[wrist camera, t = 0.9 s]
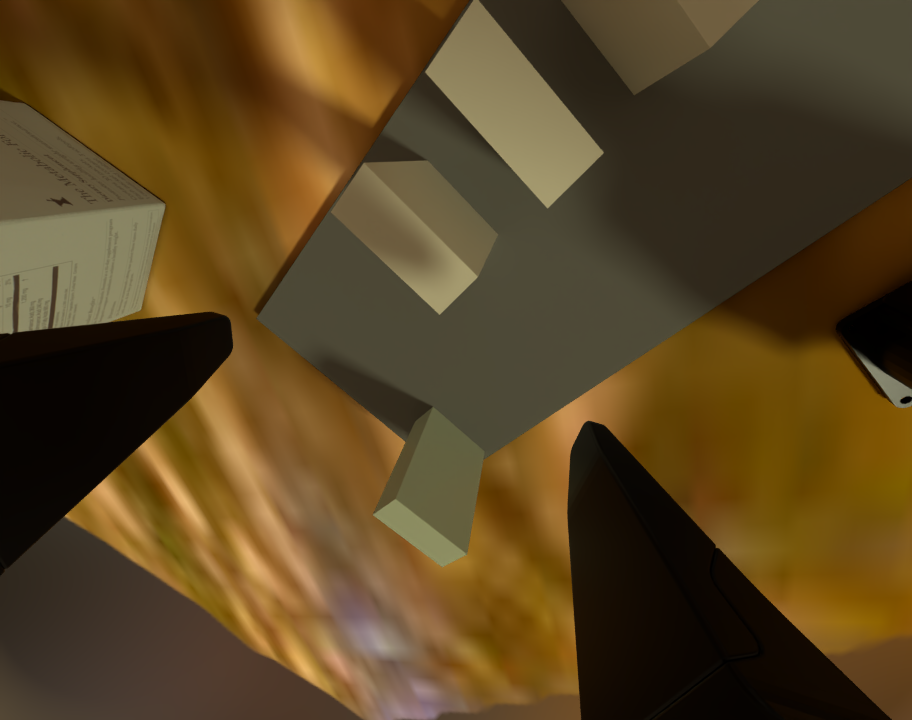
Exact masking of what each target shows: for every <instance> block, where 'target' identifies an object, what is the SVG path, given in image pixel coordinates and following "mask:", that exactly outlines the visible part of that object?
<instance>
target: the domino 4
mask: <svg viewBox="0 0 912 720" xmlns="http://www.w3.org/2000/svg"><path fill="white" fill-rule="evenodd" d="M561 1H562V2H563V4H564V5H565V6H566V7H567V9H568V10H569V11H570V13H571V14H572V15H573V17H574V18H575V19H576V20H577V22H578V23H579V24H580V26H581V27H582V28H583V30H584V31H585V32H586V33H587V35H588V36H589V37H590V39H591V40H592V41H593V43H594V44H595V45H596V46H597V48H598V49H599V50H600V52H601V53H602V54H603V56H604V57H605V58H606V59H607V61H608V62H609V63H610V65H611V66H612V67H613V69H614V70H615V71H616V72H617V74H618V75H619V76H620V78H621V79H622V80H623V82H624V83H625V84H626V85H627V87H628V88H629V89H630V91H631V92H632V93H633V95H635V94H637V93H639V92H640V91H642V90H643V89H645V88H647V87H648V86H650V85H652V84H653V83H655V82H656V81H658V80H660V79H661V78H663V77H664V76H666V75H668V74H669V73H671V72H673V71H674V70H676V69H677V68H679V67H681V66H682V65H684V64H685V63H687V62H689V61H690V60H692V59H694V58H695V57H697V56H698V55H700V54H702V53H703V52H705V51H706V50H708V49H710V48H711V47H712V46H713V45H714V44H715V43H716V42H717V41H718V40H719V39H720V38H721V37H722V36H723V35H724V34H725V33H726V32H727V31H728V30H729V29H730V28H731V27H732V26H733V25H734V24H735V23H736V22H737V21H738V20H739V19H740V18H741V17H742V16H743V15H744V14H745V13H746V12H747V11H748V10H749V9H750V8H751V7H752V6H753V5H755V4H756V3H757V2H758V1H759V0H561Z"/></svg>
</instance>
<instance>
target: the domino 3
mask: <svg viewBox="0 0 912 720" xmlns="http://www.w3.org/2000/svg"><path fill="white" fill-rule="evenodd" d="M425 73H426V74H427V75H428V76H429V77H430V78H431V79H432V80H433V82H434V83H435V84H436V85H437V86H438V87H439V88H440V89H441V90H442V92H443V93H444V94H445V95H446V96H447V97H448V98H449V99H450V100H451V102H452V103H453V104H454V105H455V106H456V107H457V108H458V109H459V111H460V112H461V113H462V114H463V115H464V116H465V117H466V118H467V119H468V121H469V122H470V123H471V124H472V125H473V126H474V127H475V128H476V129H477V131H478V132H479V133H480V134H481V135H482V136H483V137H484V138H485V139H486V141H487V142H488V143H489V144H490V145H491V146H492V147H493V148H494V149H495V151H496V152H497V153H498V154H499V155H500V156H501V157H502V158H503V160H504V161H505V162H506V163H507V164H508V165H509V166H510V167H511V168H512V170H513V171H514V172H515V173H516V174H517V175H518V176H519V177H520V178H521V180H522V181H523V182H524V183H525V184H526V185H527V186H528V187H529V188H530V190H531V191H532V192H533V193H534V194H535V195H536V196H537V197H538V199H539V200H540V201H541V202H542V203H543V204H544V205H545V206H546V207H547V208H549V207H550V206H551V205H552V204H553V203H554V202H555V201H556V200H557V199H558V198H559V197H560V196H561V195H562V194H563V193H564V192H565V191H566V190H567V189H568V188H569V187H570V186H571V185H572V184H573V183H574V182H575V181H576V180H577V179H578V178H579V177H580V176H581V175H582V174H583V173H584V172H585V171H586V170H587V169H588V168H589V167H590V166H591V165H592V164H593V163H594V162H595V161H596V160H597V159H598V158H599V157H600V156H601V155H602V154H603V153H604V152H603V151H602V150H601V149H600V147H599V146H598V145H597V144H596V143H595V141H594V140H593V139H592V138H591V136H590V135H589V134H588V133H587V132H586V130H585V129H584V128H583V127H582V126H581V124H580V123H579V122H578V121H577V119H576V118H575V117H574V116H573V115H572V113H571V112H570V111H569V110H568V108H567V107H566V106H565V105H564V104H563V102H562V101H561V100H560V99H559V98H558V96H557V95H556V94H555V93H554V91H553V90H552V89H551V88H550V87H549V85H548V84H547V83H546V82H545V81H544V79H543V78H542V77H541V76H540V74H539V73H538V72H537V71H536V70H535V68H534V67H533V66H532V65H531V63H530V62H529V61H528V60H527V59H526V57H525V56H524V55H523V54H522V53H521V51H520V50H519V49H518V48H517V46H516V45H515V44H514V43H513V42H512V40H511V39H510V38H509V37H508V36H507V34H506V33H505V32H504V31H503V29H502V28H501V27H500V26H499V25H498V23H497V22H496V21H495V20H494V18H493V17H492V16H491V15H490V14H489V12H488V11H487V10H486V9H485V8H484V6H483V5H482V4H481V3H480V1H479V0H473V2H472V3H471V5H470V6H469V8H468V9H467V11H466V12H465V14H464V15H463V17H462V18H461V20H460V21H459V22H458V24H457V25H456V27H455V28H454V30H453V31H452V33H451V34H450V36H449V37H448V39H447V40H446V42H445V43H444V45H443V46H442V48H441V49H440V51H439V52H438V54H437V55H436V57H435V58H434V60H433V61H432V62H431V64H430V65H429V67H428V68H427V70H426V71H425Z"/></svg>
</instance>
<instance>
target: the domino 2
mask: <svg viewBox="0 0 912 720" xmlns="http://www.w3.org/2000/svg"><path fill="white" fill-rule="evenodd" d="M484 452H485V451H484V450H482V449H481V448H480V447H479V446H478V445H477V444H476V443H474V442H473V441H472V440H471V439H470V438H469V437H467V436H466V435H465V434H464V433H463V432H462V431H461V430H459V429H458V428H457V427H456V426H455V425H454V424H453V423H451V422H450V421H449V420H448V419H447V418H446V417H444V416H443V415H442V414H441V413H440V412H439V411H438V410H436V409H435V408H434V407H432V408H431V409H430V410H429V411H427V412H426V413H425V414H424V415H422V416H421V417H420V418H419V419H418V420H416V421H415V423H414V425H413V427H412V429H411V432H410V434H409V436H408V438H407V440H406V443H405V445H404V447H403V449H402V451H401V454H400V456H399V458H398V460H397V463H396V465H395V467H394V469H393V471H392V474H391V476H390V478H389V480H388V482H387V485H386V487H385V489H384V491H383V493H382V496H381V498H380V500H379V502H378V504H377V507H376V509H375V511H374V513H373V515H374V516H375V517H376V518H378V519H379V520H380V521H382V522H383V523H384V524H386V525H387V526H388V527H390V528H391V529H392V530H394V531H395V532H396V533H398V534H399V535H400V536H402V537H403V538H404V539H406V540H407V541H408V542H410V543H411V544H412V545H414V546H415V547H416V548H418V549H419V550H420V551H422V552H423V553H424V554H426V555H427V556H428V557H430V558H431V559H432V560H434V561H435V562H436V563H437V564H439V565H440V566H441V567H443V566H445V565H447V564H449V563H451V562H453V561H455V560H457V559H459V558H461V557H463V556H465V555H467V552H468V546H469V540H470V534H471V528H472V523H473V517H474V511H475V505H476V499H477V493H478V487H479V482H480V476H481V470H482V464H483V458H484Z"/></svg>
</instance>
